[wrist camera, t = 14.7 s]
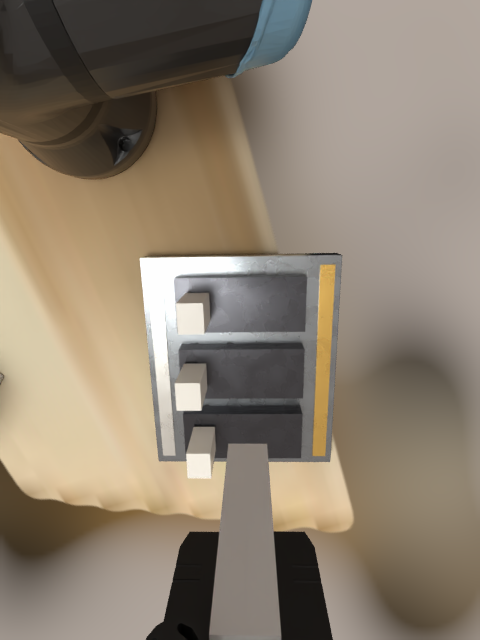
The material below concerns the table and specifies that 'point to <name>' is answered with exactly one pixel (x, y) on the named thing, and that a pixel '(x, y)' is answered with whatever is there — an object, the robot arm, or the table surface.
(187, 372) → the block
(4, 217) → the table surface
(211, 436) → the breaker far
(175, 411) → the panel
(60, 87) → the robot arm
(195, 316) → the block
